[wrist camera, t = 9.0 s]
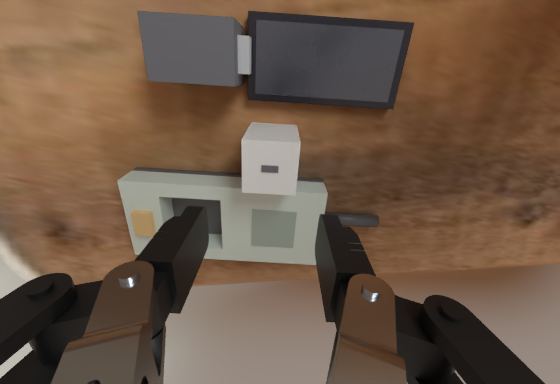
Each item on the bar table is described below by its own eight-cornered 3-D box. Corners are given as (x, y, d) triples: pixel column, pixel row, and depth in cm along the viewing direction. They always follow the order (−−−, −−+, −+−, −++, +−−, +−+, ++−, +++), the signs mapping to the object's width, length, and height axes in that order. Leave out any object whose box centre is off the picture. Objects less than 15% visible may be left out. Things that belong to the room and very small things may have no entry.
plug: (253, 28, 19) (246, 18, 16) (252, 84, 21) (246, 87, 17) (164, 21, 19) (136, 10, 16) (171, 79, 21) (148, 81, 17)
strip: (383, 183, 25) (399, 201, 21) (366, 248, 28) (377, 272, 25) (136, 167, 24) (112, 183, 21) (150, 235, 28) (131, 258, 24)
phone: (406, 25, 19) (414, 22, 18) (387, 107, 22) (393, 109, 21) (249, 14, 19) (246, 10, 18) (248, 97, 22) (246, 99, 21)
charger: (296, 125, 22) (300, 143, 17) (292, 167, 24) (295, 196, 19) (251, 122, 22) (241, 139, 17) (251, 164, 24) (241, 192, 19)
